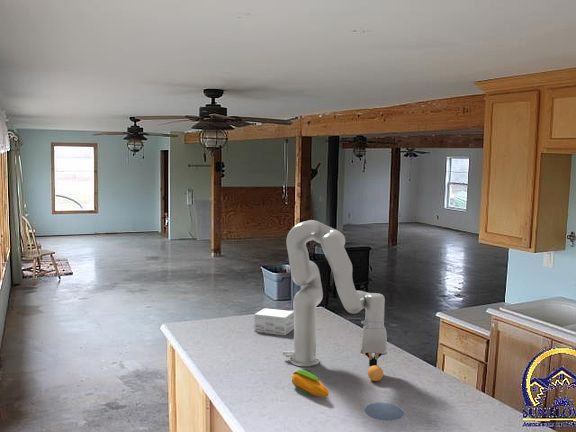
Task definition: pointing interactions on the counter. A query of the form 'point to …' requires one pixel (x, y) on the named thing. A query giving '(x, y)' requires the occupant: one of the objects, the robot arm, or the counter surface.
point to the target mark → (384, 411)
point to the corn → (309, 383)
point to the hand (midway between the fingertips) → (372, 367)
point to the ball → (375, 373)
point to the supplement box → (274, 321)
